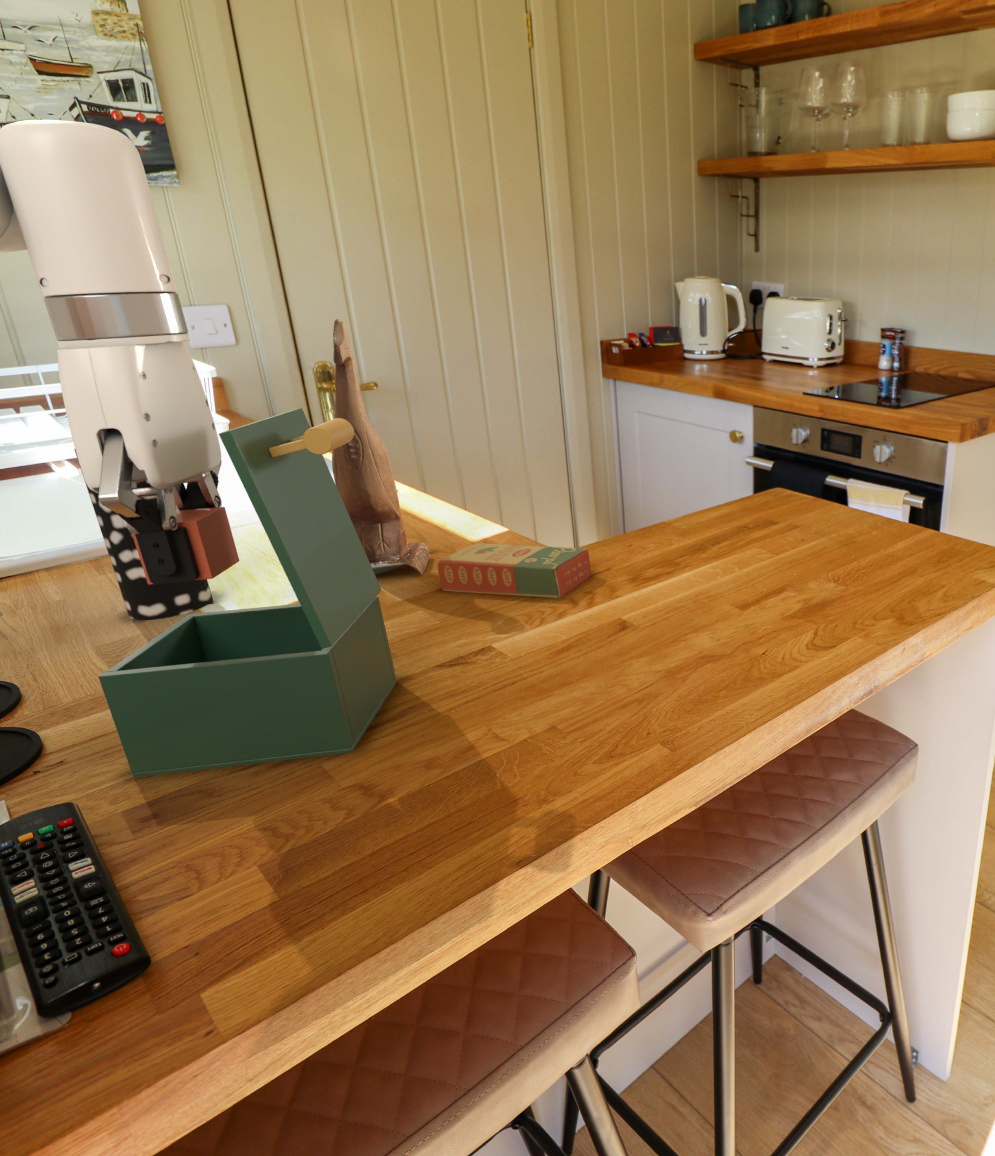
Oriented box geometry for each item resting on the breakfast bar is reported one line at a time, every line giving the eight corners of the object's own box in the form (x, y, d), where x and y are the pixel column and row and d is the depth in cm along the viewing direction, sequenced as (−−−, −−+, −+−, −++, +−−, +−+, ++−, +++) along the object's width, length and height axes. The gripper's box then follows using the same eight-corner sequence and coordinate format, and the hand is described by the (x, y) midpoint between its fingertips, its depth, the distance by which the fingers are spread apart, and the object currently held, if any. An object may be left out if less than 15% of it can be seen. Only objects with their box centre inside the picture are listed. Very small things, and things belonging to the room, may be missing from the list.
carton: (482, 572, 107) (477, 540, 105) (593, 578, 102) (589, 545, 101) (441, 593, 99) (435, 560, 98) (559, 601, 95) (555, 566, 93)
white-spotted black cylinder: (118, 615, 97) (63, 447, 91) (196, 594, 104) (149, 435, 97) (146, 628, 93) (90, 452, 86) (226, 605, 99) (179, 439, 93)
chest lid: (217, 433, 55) (296, 413, 55) (292, 410, 67) (357, 393, 67) (321, 649, 60) (392, 629, 61) (373, 592, 72) (432, 576, 73)
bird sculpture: (329, 592, 102) (265, 322, 91) (343, 566, 112) (287, 321, 102) (425, 579, 105) (374, 317, 94) (430, 554, 115) (384, 316, 105)
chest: (134, 782, 62) (97, 676, 59) (215, 705, 73) (188, 613, 70) (353, 757, 64) (328, 653, 61) (398, 685, 75) (378, 596, 72)
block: (212, 579, 62) (195, 521, 60) (147, 584, 61) (129, 526, 60) (239, 561, 66) (224, 506, 64) (179, 566, 65) (162, 511, 64)
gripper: (132, 323, 65) (197, 544, 71) (-31, 331, 49) (70, 614, 55) (234, 318, 66) (289, 536, 72) (106, 324, 50) (190, 603, 56)
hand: (193, 568), depth 63 cm, fingers closed on block, 4 cm apart
